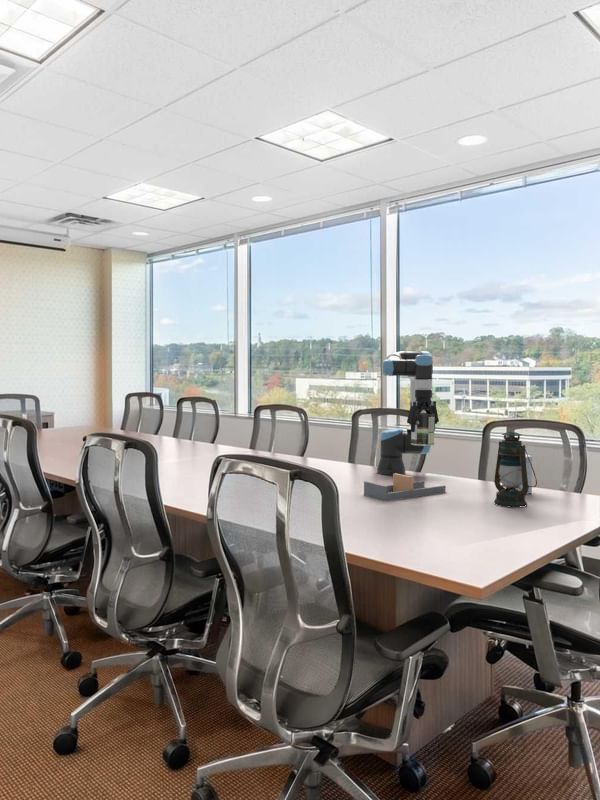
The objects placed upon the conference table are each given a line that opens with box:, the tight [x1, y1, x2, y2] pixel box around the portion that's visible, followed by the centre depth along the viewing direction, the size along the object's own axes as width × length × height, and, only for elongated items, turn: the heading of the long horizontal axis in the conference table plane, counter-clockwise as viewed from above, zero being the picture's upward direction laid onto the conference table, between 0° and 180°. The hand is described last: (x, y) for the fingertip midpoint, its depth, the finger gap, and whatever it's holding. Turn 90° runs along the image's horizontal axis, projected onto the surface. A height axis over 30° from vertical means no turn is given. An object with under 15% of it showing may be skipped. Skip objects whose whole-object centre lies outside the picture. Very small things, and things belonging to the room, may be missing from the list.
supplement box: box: [515, 453, 533, 493], centre depth 278 cm, size 10×9×17 cm
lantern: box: [493, 431, 538, 508], centre depth 252 cm, size 19×14×30 cm
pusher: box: [392, 473, 414, 492], centre depth 272 cm, size 2×11×8 cm, turn 33°
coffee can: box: [411, 413, 435, 447], centre depth 278 cm, size 10×10×14 cm
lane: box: [363, 480, 446, 502], centre depth 273 cm, size 35×14×6 cm, turn 123°
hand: (422, 438), depth 278 cm, fingers closed on coffee can, 10 cm apart
